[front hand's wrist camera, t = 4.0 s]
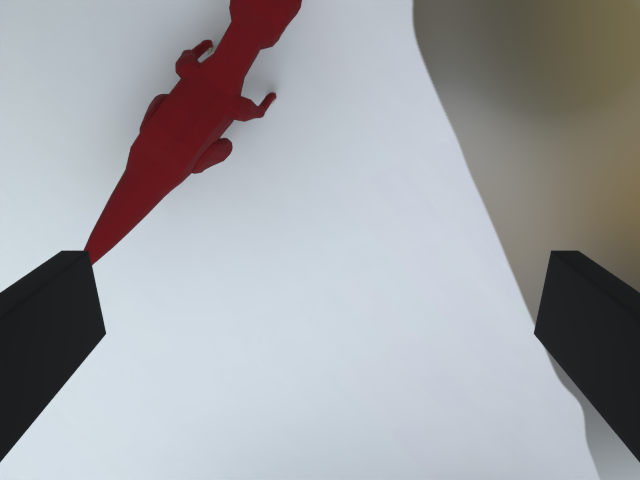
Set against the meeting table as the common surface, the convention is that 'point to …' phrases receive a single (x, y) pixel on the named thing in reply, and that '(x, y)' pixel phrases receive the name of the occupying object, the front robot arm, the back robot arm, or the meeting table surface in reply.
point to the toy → (192, 118)
